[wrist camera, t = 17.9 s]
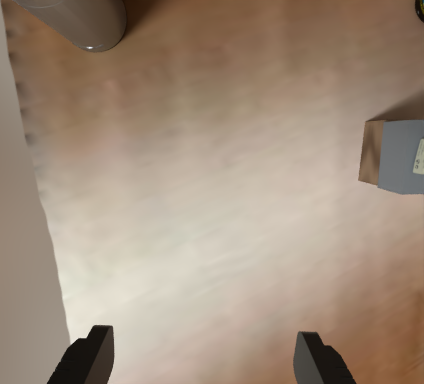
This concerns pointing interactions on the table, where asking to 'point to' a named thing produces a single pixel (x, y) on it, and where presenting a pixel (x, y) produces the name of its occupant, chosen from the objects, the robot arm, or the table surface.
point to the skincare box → (419, 159)
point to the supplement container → (420, 9)
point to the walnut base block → (371, 151)
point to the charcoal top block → (401, 157)
